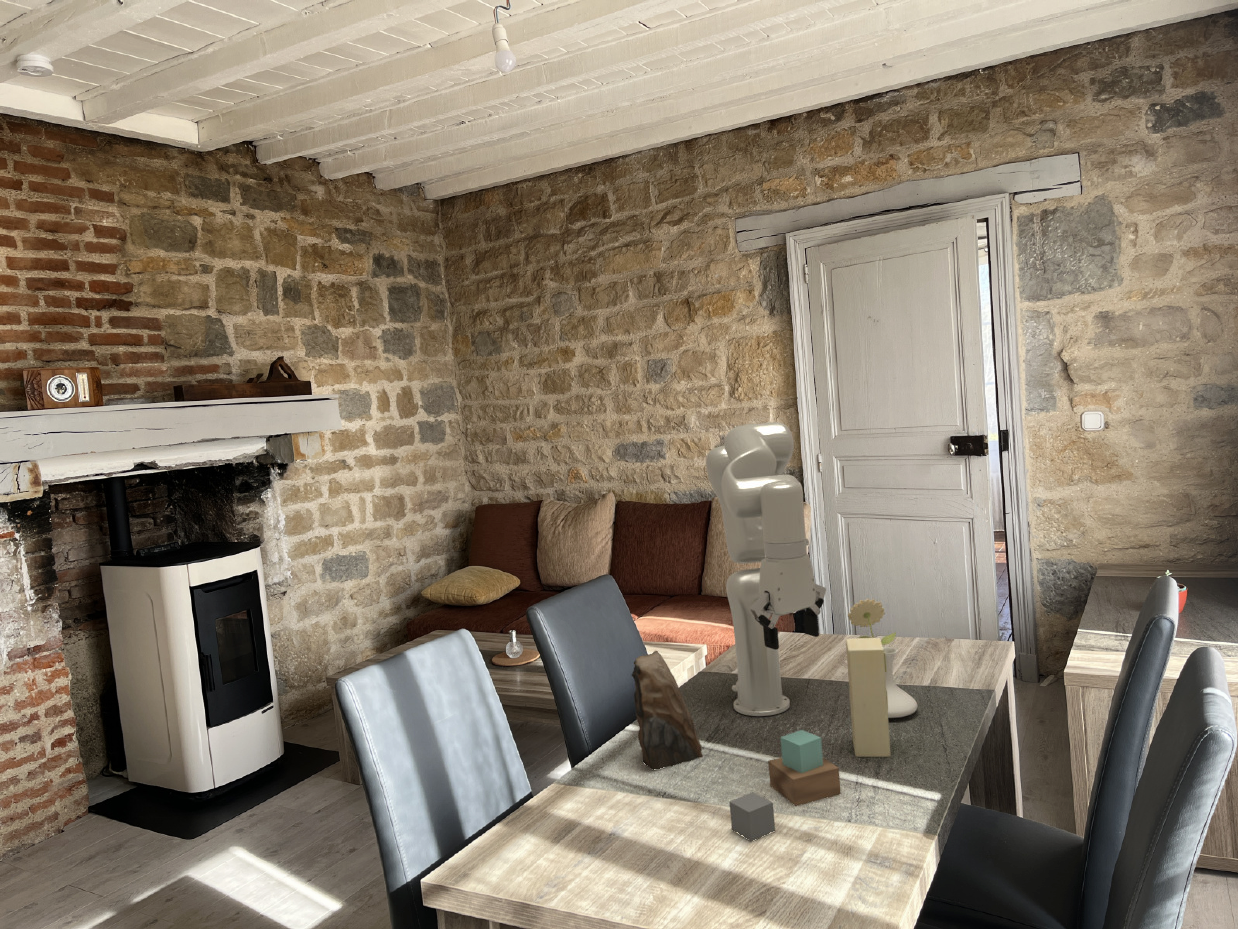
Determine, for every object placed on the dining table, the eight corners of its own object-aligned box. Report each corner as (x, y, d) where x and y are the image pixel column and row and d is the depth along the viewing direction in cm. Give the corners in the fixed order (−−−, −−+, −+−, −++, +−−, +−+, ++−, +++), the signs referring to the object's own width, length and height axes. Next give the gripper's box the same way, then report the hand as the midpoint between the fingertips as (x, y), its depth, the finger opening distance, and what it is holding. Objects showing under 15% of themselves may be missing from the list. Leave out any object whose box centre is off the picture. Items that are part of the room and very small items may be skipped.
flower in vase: (918, 704, 191) (910, 591, 190) (918, 724, 181) (909, 605, 179) (856, 703, 196) (848, 593, 194) (853, 722, 185) (843, 605, 183)
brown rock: (649, 774, 169) (639, 672, 168) (620, 753, 180) (611, 658, 179) (705, 757, 174) (696, 659, 173) (674, 737, 186) (665, 645, 184)
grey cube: (731, 830, 144) (729, 801, 144) (755, 821, 147) (752, 792, 146) (751, 842, 140) (748, 812, 140) (775, 832, 142) (772, 802, 142)
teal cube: (782, 764, 156) (780, 737, 156) (803, 756, 159) (801, 729, 159) (801, 773, 152) (799, 745, 152) (823, 765, 155) (820, 737, 154)
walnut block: (770, 787, 159) (768, 760, 159) (813, 776, 162) (811, 750, 161) (795, 807, 150) (793, 779, 150) (840, 795, 153) (838, 768, 153)
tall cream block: (895, 757, 166) (887, 648, 164) (855, 757, 167) (847, 650, 166) (891, 740, 174) (883, 636, 172) (852, 741, 175) (844, 638, 174)
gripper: (806, 538, 166) (812, 626, 168) (734, 555, 157) (742, 648, 159) (835, 543, 159) (841, 634, 161) (762, 561, 151) (769, 658, 152)
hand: (792, 641), depth 160 cm, fingers open, 9 cm apart
